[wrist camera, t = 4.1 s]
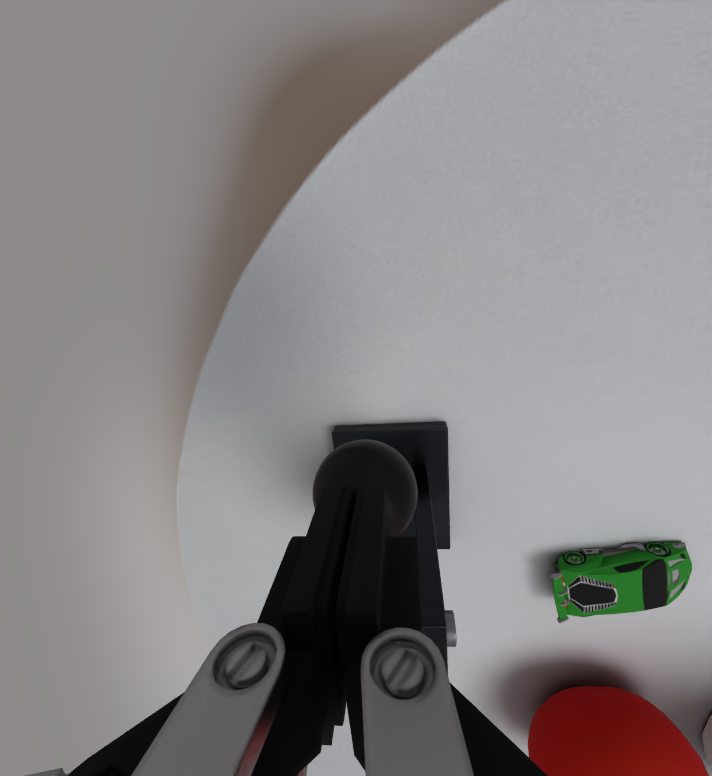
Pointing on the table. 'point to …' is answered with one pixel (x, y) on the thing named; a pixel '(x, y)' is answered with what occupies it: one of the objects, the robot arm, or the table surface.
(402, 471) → the lever
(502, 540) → the table surface
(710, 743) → the bottle
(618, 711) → the tomato
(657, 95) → the table surface
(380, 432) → the bracket
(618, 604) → the toy car
